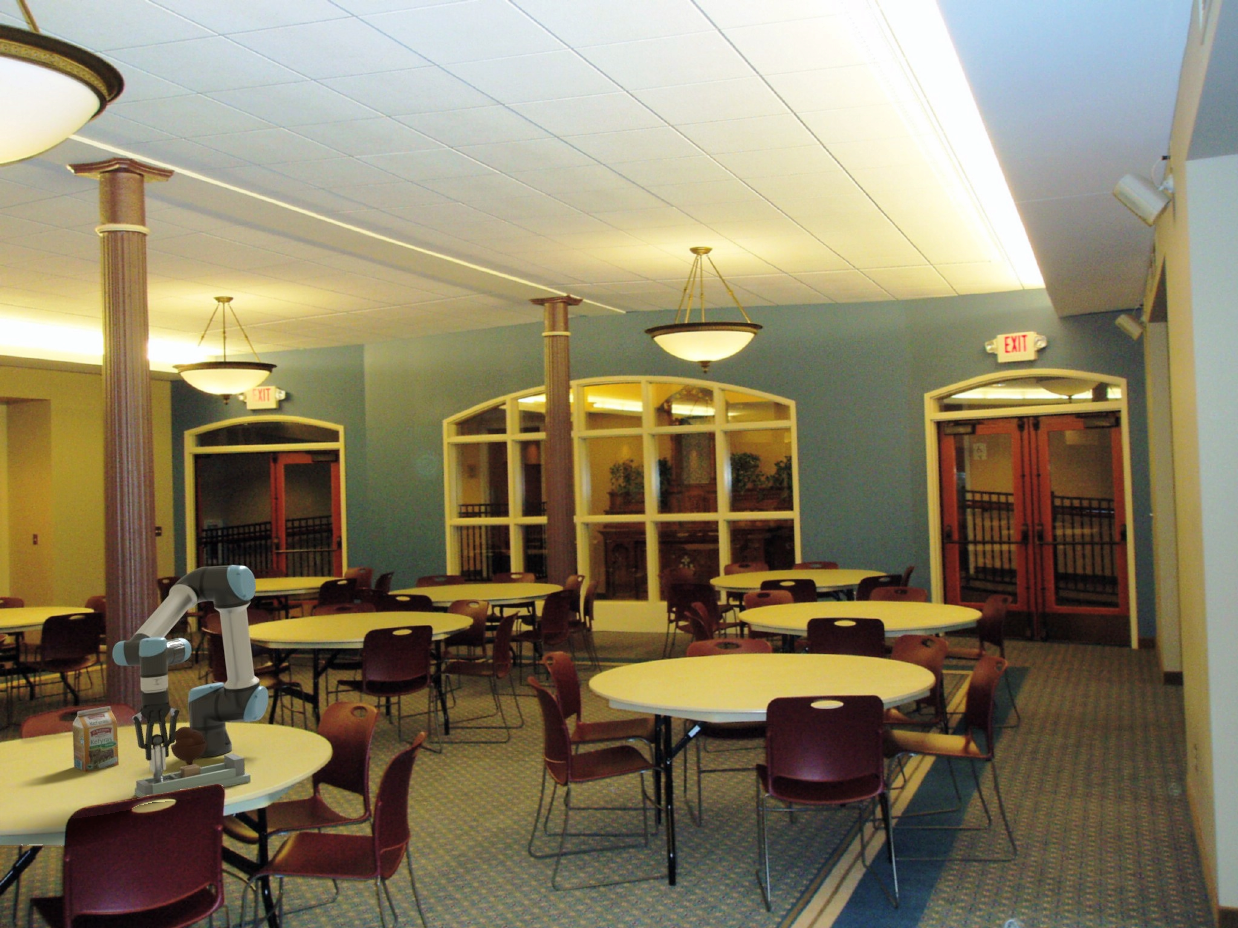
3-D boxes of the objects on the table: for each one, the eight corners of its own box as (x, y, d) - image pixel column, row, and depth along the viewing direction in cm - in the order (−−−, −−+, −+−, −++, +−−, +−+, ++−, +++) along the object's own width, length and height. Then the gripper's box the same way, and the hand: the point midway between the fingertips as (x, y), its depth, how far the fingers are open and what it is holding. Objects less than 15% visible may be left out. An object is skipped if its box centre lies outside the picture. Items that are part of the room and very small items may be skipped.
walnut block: (180, 781, 326) (180, 766, 326) (195, 778, 329) (195, 763, 329) (185, 784, 322) (184, 769, 323) (200, 781, 325) (200, 766, 325)
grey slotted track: (134, 794, 322) (133, 770, 322) (235, 773, 341) (234, 751, 341) (147, 803, 312) (146, 778, 312) (250, 781, 330) (249, 758, 331)
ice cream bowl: (186, 779, 337) (184, 731, 337) (164, 775, 342) (162, 728, 343) (215, 771, 346) (213, 723, 346) (193, 767, 351) (191, 721, 352)
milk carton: (107, 760, 368) (105, 704, 369) (118, 764, 361) (116, 707, 361) (74, 766, 361) (71, 709, 361) (85, 771, 353) (82, 713, 354)
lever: (148, 786, 321) (146, 733, 322) (172, 781, 326) (170, 729, 326) (154, 791, 316) (152, 736, 316) (179, 786, 320) (177, 732, 321)
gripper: (130, 695, 313) (133, 777, 312) (185, 687, 322) (188, 766, 322) (123, 692, 319) (126, 772, 318) (177, 684, 328) (180, 762, 328)
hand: (157, 769), depth 320 cm, fingers closed on lever, 2 cm apart
